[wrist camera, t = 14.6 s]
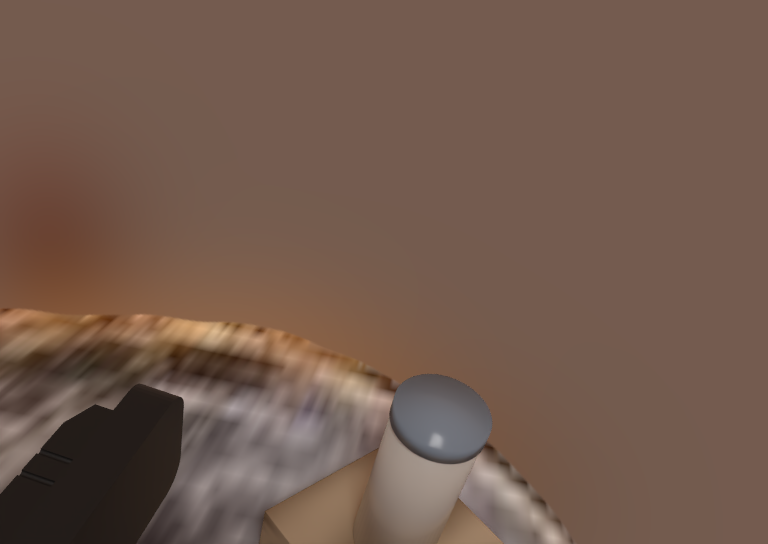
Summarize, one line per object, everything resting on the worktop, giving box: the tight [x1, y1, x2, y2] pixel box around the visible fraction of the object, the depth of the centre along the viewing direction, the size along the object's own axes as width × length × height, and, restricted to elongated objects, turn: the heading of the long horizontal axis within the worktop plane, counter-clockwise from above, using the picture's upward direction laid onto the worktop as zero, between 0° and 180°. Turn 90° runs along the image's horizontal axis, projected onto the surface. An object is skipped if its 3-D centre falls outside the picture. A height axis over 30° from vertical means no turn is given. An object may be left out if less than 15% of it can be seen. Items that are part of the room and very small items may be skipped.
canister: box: [353, 374, 492, 544], centre depth 38 cm, size 5×5×11 cm
